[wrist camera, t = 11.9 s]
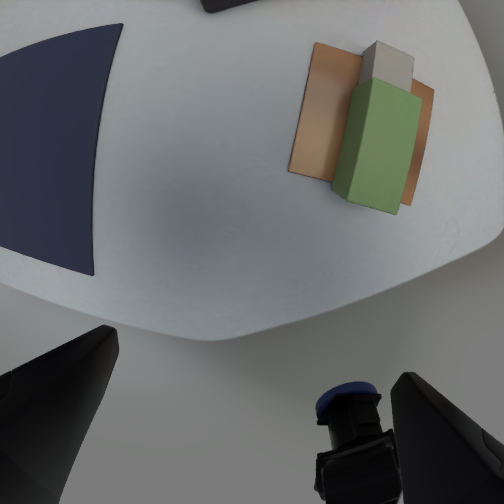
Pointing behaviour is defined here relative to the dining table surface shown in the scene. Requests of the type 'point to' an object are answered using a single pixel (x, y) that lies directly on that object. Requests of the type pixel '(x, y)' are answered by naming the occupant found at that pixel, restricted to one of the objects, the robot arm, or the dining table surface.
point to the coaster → (342, 117)
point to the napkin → (52, 144)
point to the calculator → (221, 4)
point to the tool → (379, 131)
